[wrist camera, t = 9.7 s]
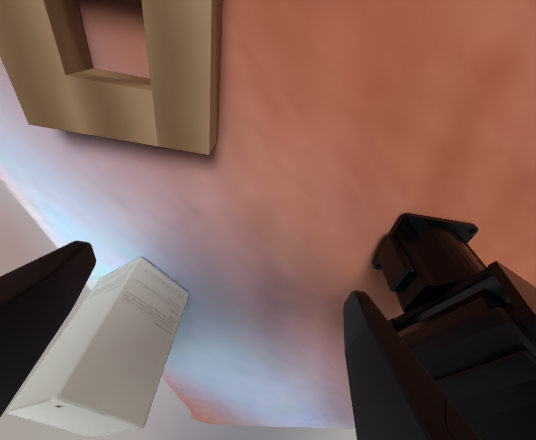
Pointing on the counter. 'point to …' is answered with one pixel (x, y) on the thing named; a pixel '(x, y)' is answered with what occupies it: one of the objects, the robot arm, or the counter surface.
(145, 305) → the supplement box
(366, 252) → the counter surface
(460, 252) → the robot arm
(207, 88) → the socket
